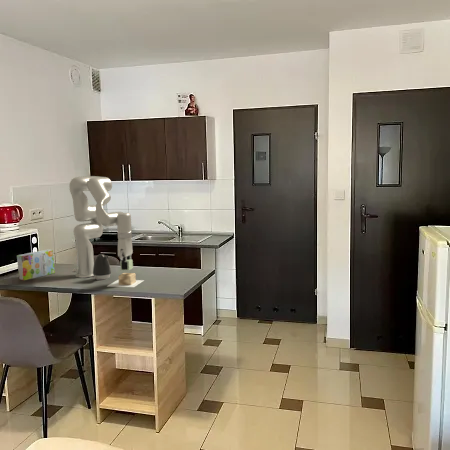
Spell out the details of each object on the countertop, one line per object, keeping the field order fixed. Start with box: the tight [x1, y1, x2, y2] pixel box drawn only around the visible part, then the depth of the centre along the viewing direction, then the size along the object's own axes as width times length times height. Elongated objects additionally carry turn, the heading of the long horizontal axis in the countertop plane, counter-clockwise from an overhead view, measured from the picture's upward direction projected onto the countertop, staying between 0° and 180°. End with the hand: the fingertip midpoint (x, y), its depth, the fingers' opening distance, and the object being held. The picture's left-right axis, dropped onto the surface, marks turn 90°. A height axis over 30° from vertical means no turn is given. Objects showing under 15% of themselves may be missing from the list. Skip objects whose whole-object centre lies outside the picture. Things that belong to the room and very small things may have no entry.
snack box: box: [16, 249, 56, 281], centre depth 281 cm, size 21×6×15 cm, turn 145°
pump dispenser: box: [93, 253, 112, 281], centre depth 268 cm, size 10×10×15 cm
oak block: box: [118, 272, 137, 285], centre depth 254 cm, size 7×7×5 cm
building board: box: [106, 279, 145, 288], centre depth 255 cm, size 16×15×1 cm
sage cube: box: [119, 259, 134, 271], centre depth 253 cm, size 5×5×5 cm
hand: (126, 267), depth 253 cm, fingers closed on sage cube, 4 cm apart
